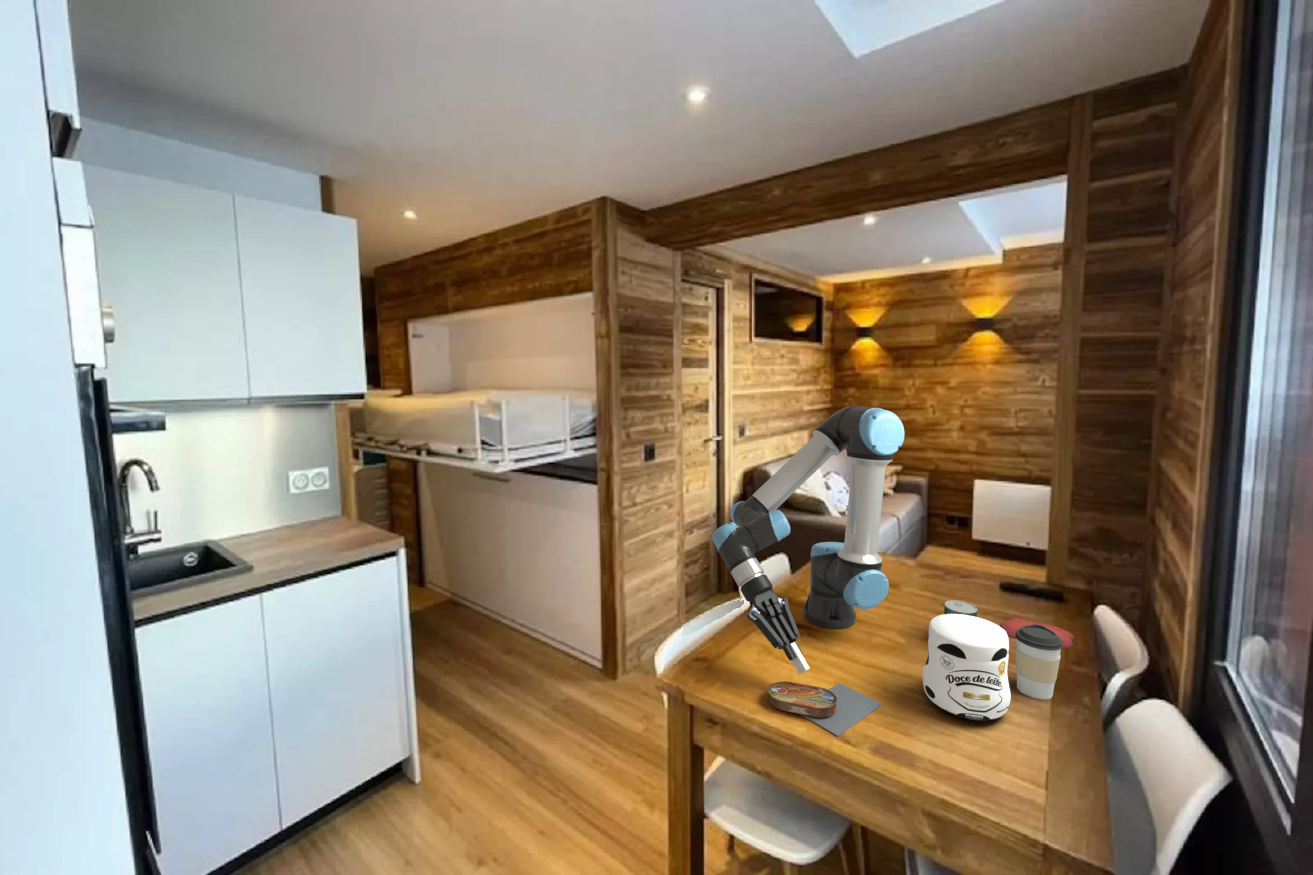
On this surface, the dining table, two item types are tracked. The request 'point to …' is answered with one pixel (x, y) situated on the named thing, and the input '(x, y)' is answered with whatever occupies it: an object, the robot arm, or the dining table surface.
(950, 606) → the canned tomato
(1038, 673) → the coffee cup
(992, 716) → the doce de leite jar
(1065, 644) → the red flat irregular piece
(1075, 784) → the dining table surface
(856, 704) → the slate board
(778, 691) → the tin
